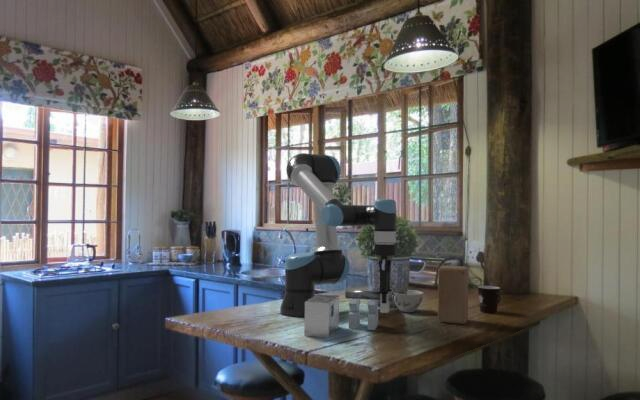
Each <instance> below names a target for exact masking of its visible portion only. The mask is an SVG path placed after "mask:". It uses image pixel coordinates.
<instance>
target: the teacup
mask: <svg viewBox="0 0 640 400" xmlns="http://www.w3.org/2000/svg"><path fill="white" fill-rule="evenodd" d="M407 290H408V291H407V295H405V294H398V293H394V294H395V296H394V300H393V302H394V301H395V302H394V304H395V306H396V307H397V309H399V311H400V312H404V313H414V312H415V311H416V310H417V309H418V308H419V307H420V306H421V303H422V301H423V298H424V292H423V291H420V290H416V289H415V290H414V289H407Z"/></svg>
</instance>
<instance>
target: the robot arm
mask: <svg viewBox="0 0 640 400" xmlns="http://www.w3.org/2000/svg"><path fill="white" fill-rule="evenodd" d="M285 169H286V175H287V178H288V179H289V180H290V182H291V183H292V184H293V185H294V186H297V187H299V188H300V189H301V190H302V191H303V192H304V194H305V195H306V196H307V197H308V198H309V200H311V202H312V203H313V211H314V225H315V236H316V249H315V250H314V251H313V252H307V251H306V252H296V253H292V254H290V255H287V256H286V258H285V265H284V271H285V272H284V274H285V275H284V281H285V282H284V286H285V287H284V295H283V298H282V301H281V305H280V308H279V310H280V311H279V312H280V314H281V315H283V316H288V317H305V301H307V300H309V299H310V298H312V297H313V296H315V295H316V294H315V289H316V287H315V286H317V285H318V286H321V285H335V284H341V283H343V282H344V281H346V279H347V277H348V275H349V272H350V260H349V258H348V256H347V255H344V254H343V249H342V248H341V247H340V246H339V243H338V242H339V241H338V233H337V227H374V230H373V232H374V233H373V235H374V236H373V237H374V239H373V240H374V243H375V244H374V247H373V248H374V252H373V253H374V255H375V256H380V259H379V260H378V267H379V272H378V273H379V291H380V292H378V293H379V294H380V300H379V301H380V306H379V307H380V308H379V309H380V313H382V314H384V313H385V314H389V312H390V302H391V301H388V292H392V291H393V289H391V271H392V270H391V269H392V267H391V266H392V260H390V256H396V255H397V244H396V243H397V237H399V234H397V202H396V200H395V199H393V198H392V199H390V198H387V199H386V198H385V199H382V198H381V199H375V200H374V204H373V205H372V204H371V205H370V204H369V205H366V204H365V205H363V204H360V205H359V204H343V202H342V201H341V200H339V198H338V197H336V195H335V194H334V189H335V188H336V186H337V182H339V180H340V178H341V177H340V176H341V173H342V172H341V170H342V169H341V165H340V162H339V161H338V159H337V158H336V157H335V156H332V155H327V154H316V153H304V152H302V153H297V154H295V155H293V156H292V157H291V158H290V159H289V160H288V163H287V164H286V168H285Z"/></svg>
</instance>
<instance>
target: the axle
mask: <svg viewBox="0 0 640 400" xmlns="http://www.w3.org/2000/svg"><path fill="white" fill-rule="evenodd" d="M378 292H380V290H378V291H377V290H363V289H362V290H358V289H357V290H356V289H355V290H354V289H346V290H345V293H344V297H345V299H347V300H348V299H349V300H353V299H360V300H368V301H371V300H378V301H380V294H379V293H378ZM388 301H390V302H391V301H393V295H392V292H388Z"/></svg>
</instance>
